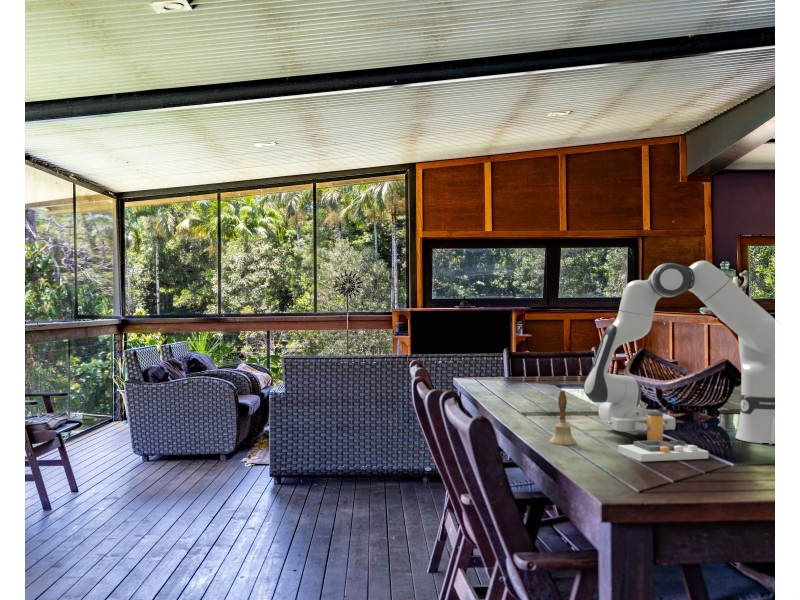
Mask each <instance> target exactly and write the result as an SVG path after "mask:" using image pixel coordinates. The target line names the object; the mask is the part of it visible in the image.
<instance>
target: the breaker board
mask: <svg viewBox="0 0 800 600" xmlns="http://www.w3.org/2000/svg"><path fill="white" fill-rule="evenodd" d="M617 453H618V454H621V455H624V456H625V457H629V458H631V459H633V460H637V461H638V462H661V461H662V462H663V461H681V460H682V461H683V460H684V461H685V460H704V459H709V450H705V449H702V448H700V447H698V446H697V445H694V444H687V443H686V441H684V440H677V441H676V440H669V441H667V440H663V441H659V440H653V441H647V440H636V441H635V440H634V441H633V444H618V445H617Z"/></svg>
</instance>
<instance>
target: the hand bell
mask: <svg viewBox="0 0 800 600" xmlns="http://www.w3.org/2000/svg"><path fill="white" fill-rule="evenodd" d="M567 401H568V399H567V396H566V393H565V390H560V392H559V395H558V399H557V403H558V409H559V422H558V423H556V424H555V428H554V432H553V433H554V434H553V435H552V437H550V439H549V441H548V442H549V443H550V444H553V445H556V446H557V445H558V446H572V445H577V444H578V443H577V440H576V439H575V438H574V436H573V435H572V434H573V433H572V429H571V425H570V424H568V423H567V419H566V408H567V406H568V405H567V404H568V403H567Z"/></svg>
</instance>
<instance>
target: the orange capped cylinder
mask: <svg viewBox="0 0 800 600" xmlns="http://www.w3.org/2000/svg"><path fill="white" fill-rule="evenodd" d="M663 414H664V412H662V411H658V412H657V411H648V412H647V424H649V425H650V430H648V431H646V441H653V440H659V441H664V430H663Z"/></svg>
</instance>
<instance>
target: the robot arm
mask: <svg viewBox="0 0 800 600" xmlns="http://www.w3.org/2000/svg"><path fill="white" fill-rule="evenodd" d="M687 291H688V292H690V293H693V294H694V295H695V296H696V297H697V298H698V299H699V301H701V302H702V303H703V304H704V305H705V307H707V308H708V309H709V311H711V312H712V313H713V314H714V315H715V316H716V317H717V318H718V319H719V320H720V321H721V322H723V323H724V324H725V325H726V326H727V327H728V328H729V329H730V330H731V331H733V333H735V334H737V337H738V338H737V339H738V351H739V360H740V361H739V362H740V371H741V375H740V377H741V379H740V380H741V381H740V382H741V383H740V385H741V386H740V387H741V392H740V394H739V410H740V413H739V420H738V425H737V430H736V434H735V439H737V440H740V441H745V442H748V443H755V444H762V443H769V444H768V445H772V444H773V443H774V442H775V320H776V319H775V318H774V316H772V315H771V314H770V313H768V311H766V310H765V309H764V308H763V307H762V306H760V305H759V303H757V302H755V301H754V300H753V299H752V298H750V297H749V295H747V294H746V292H744V291H743V290H742V289H741V288H740V287H739V286H738V285H737V284H736V283H735V282H734V281H733V280H732V279H731V278H730V277H729V276H728V275H727V274H725V272H723V271H722V270H720V269H719V268H718V267H716V266H715V265H714V264H712V263H710V262H709V261H707V260H699V261H696V262H694V263H692V264H691V265H690V266H685V265H682V264H680V263H679V264H678V263H674V262H668V263H662V264H660V265H657V266H656V268H654V269H653V271H652V272H651V273H650V275H649V276H648V277H647V278H646V279H645V280H642V279H637V280H636V279H634V280H632V281H630V282H628V283H627V284H626V286H625V289H624V291H623V293H622V296H621V299H620V304H619V306H618V307H619V309H618V313H617V316H616V318H615V320H614V321H613V323H612V324H611V325H609V326H607V327H606V329H605V331H604V333H603V334H602V336H601V340H600V343H599V345H598V348H597V350H596V354H595V357H594V359H593V360H594V361H593V363H592V365H591V367H590V370H589V373H588V374H587V376H586V378H585V380H584V383H583V391H584V394H585V395H586V397H587V398H588V399H589V400H590V401H591V402H592V403H601V404H600V406H599V407H598V416H599V418H600V420H601V421H602V422H603V423H604V424H605V425H606V426H608V427H610V428H611V429H612V430H614V431H617V432H624V433H627V434H630V435H639V434H640V433H644V432H647V431H648V430H650V425H649V424H647V412H648V411H657V412H659V410H657V409H653V408H643V407H639V405H640V403H641V398H642V388H641V386H640V384H639V381H638V380H637V379H636V378H635V377H634V376H629V375H623V374H613V373H608V371H609V368H610V365H611V364H612V363H611V362H612V359H613V357H614V353H615V351H616V350H617V348H619V347H620V346H622V345H624V344H626V343H631V342H634V341H638V340H640V339H642V338H644V337H645V336H647V334H648V333H650V330H651V328H652V325H653V320H654V315H655V314H654V313H655V308H656V306H657V302H658V301H659V300H660V299H661V298H672V297H676V296H678V295H681V294H683V293H685V292H687ZM675 429H676V418H675V417H673V416H672V415H669V414H666V413H663V431H667V430H675Z"/></svg>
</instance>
